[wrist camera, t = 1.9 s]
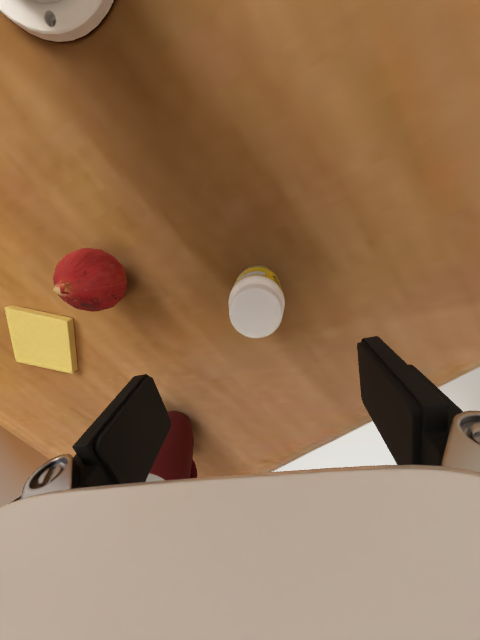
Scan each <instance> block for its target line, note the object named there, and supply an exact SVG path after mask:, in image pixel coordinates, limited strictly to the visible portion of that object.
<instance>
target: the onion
mask: <svg viewBox="0 0 480 640" xmlns="http://www.w3.org/2000/svg"><path fill="white" fill-rule="evenodd" d="M53 281H54V289H53V291H54V292H56V293H57V294H58V295H59V296H60V297H61V298H62V299H63V300H64V301H65V302H67V303H68V304H70V305H71V306H73V307H75V308H77V309H81V310H87V311H100V310H104V309H108V308H111V307H114V306H115V305H116V304H117V303H118V302H119V301H120V300H121V299H122V298H123V297H124V296H125V292H126V288H127V278H126V273H125V271H124V268H123V266H122V265H121V264H120V262H119V261H118V260H117V259H116V258H115V257H113V256H112V255H110V254H108V253H106V252H105V251H103V250H99V249H91V248H83V249H80V250H77V251H73V252H71V253H69V254H67V255H66V256H65V257H64V258H63V259H62V260H61V261H60V262H59V263H58V264H57V266H56V269H55V273H54V276H53Z"/></svg>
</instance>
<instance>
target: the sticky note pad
mask: <svg viewBox="0 0 480 640" xmlns="http://www.w3.org/2000/svg"><path fill="white" fill-rule="evenodd" d="M5 312H6V317H7V322H8V326H9V331H10V336H11V341H12V345H13V350H14V355H15V360H16V362H21V363H25V364H30V365H34V366H39V367H44V368H48V369H53V370H57V371H62V372H67V373H71V374H73V373H74V372H75V371H77V370H78V366H77V355H76V344H75V333H74V322H73V318H70V317H65V316H60V315H56V314H51V313H47V312H42V311H37V310H33V309H28V308H23V307H19V306H14V305H11V306H8V307H5Z"/></svg>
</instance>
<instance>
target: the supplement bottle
mask: <svg viewBox="0 0 480 640" xmlns="http://www.w3.org/2000/svg"><path fill="white" fill-rule="evenodd" d="M228 305H229V316H230V321H231V323H232V325H233V327H234V328H235V329H236V330H237V331H238V332H239V333H241V334H242V335H244V336H247V337H250V338H262V337H266V336H268V335H270V334H272V333H273V332H274V331H275V330H276V329H277V328H278V326H279V325H280V323H281V320H282V315H283V312H284V307H285V300H284V295H283V292H282V288H281V285H280V282H279V279H278V277H277V275H276V274H275V273H274V272H273V271H272V270H271V269H269V268H267V267H265V266H261V265H255V266H251V267H248V268H246V269H245V270H243V271H242V272H241V273H240V275H239V276H238V278H237V280H236V282H235V284H234V286H233V288H232V290H231V292H230V295H229V301H228Z"/></svg>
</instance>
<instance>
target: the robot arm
mask: <svg viewBox="0 0 480 640" xmlns="http://www.w3.org/2000/svg"><path fill="white" fill-rule="evenodd" d="M113 1H114V0H0V11H1V12H2V13H3V14H4V15H5V16H7V17H8V18H9V19H10V20H11V21H13V22H14V23H15V24H16V25H18V26H19V27H21V28H22V29H24V30H25V31H27V32H28V33H30V34H32V35H35V36H37V37H39V38H42V39H44V40H50V41H56V42H63V41H72V40H75V39H77V38H80V37H82V36H85V35H86V34H88V33H89V32H90V31H92V30H93V29H94V28H95V27H97V26H98V25H99V23H100V22H101V21H102V19H103V18H104V17H105V16H106V14H107V13H108V11H109V9H110V7H111V5H112V3H113ZM357 350H358V362H359V374H360V386H361V397H362V401H363V404H364V406H365V407H366V409H367V411H368V413H369V415H370V416H371V418H372V420H373V422H374V424H375V425H376V427H377V429H378V431H379V432H380V434H381V436H382V438H383V440H384V441H385V443H386V445H387V447H388V449H389V450H390V452H391V454H392V456H393V457H394V459H395V461H396V463H397V465H381V466H360V467H344V468H325V469H312V470H298V471H283V472H269V473H254V474H241V475H228V476H215V477H202V478H189V479H176V480H164V481H152V482H145V481H146V479H147V477H148V475H149V473H150V470H151V468H152V466H153V464H154V462H155V460H156V458H157V456H158V453H159V451H160V449H161V447H162V445H163V443H164V441H165V439H166V436H167V434H168V432H169V430H170V428H171V419H170V417H169V415H168V412H167V410H166V408H165V406H164V403H163V401H162V399H161V396H160V394H159V392H158V389H157V387H156V385H155V383H154V380H153V378H152V377H149V376H148V375H147V374H145V375H139V376H134V377H133V378H132V379H131V380H130V382H129V383H128V384H127V385H126V386H125V387H124V388H123V390H122V391H121V392H120V393H119V394H118V395H117V396H116V398H115V399H114V400H113V401H112V402H111V403H110V404H109V406H108V407H107V408H106V409H105V410H104V411H103V412H102V413H101V415H100V416H99V417H98V418H97V419H96V420H95V421H94V423H93V424H92V425H91V426H90V427H89V428H88V429H87V431H86V432H85V433H84V434H83V435H82V436H81V437H80V439H79V440H78V441H77V442H76V443H75V444H74V445H73V449H74V450H75V452H76V453H77V454H76V455H75V457H74V458H73V457H72V456H71V455H70V454H63V455H59V456H57V457H55V458H52V459H51V460H49V461H47V462H46V463H44V464H43V465H42V466H41V467H39V468H38V469H37V470H36V471H35V472H34V473H33V474H32V475H31V476H30V477H29V478H28V480H27V481H26V483H25V485H24V487H23V491H22V495H21V496H20V497H19V498H17V499H16V500H14V501H12V502H11V503H9V504H7V505H5V506H3V507H0V640H480V411H466V412H463V411H462V410H461V409H460V408H459V407H458V406H456V405H455V404H454V403H453V402H452V401H451V400H450V399H449V398H448V397H447V396H446V395H445V394H444V393H442V392H441V391H440V390H439V389H438V388H437V387H436V386H435V385H434V384H433V383H432V382H431V381H430V380H428V379H427V378H426V377H425V376H424V375H423V374H422V373H421V372H420V371H419V370H418V369H417V368H416V367H414V366H413V365H407V364H406V363H405V362H404V361H403V360H402V359H401V358H400V357H399V356H398V355H397V354H396V353H395V352H394V351H393V350H392V349H391V348H390V347H389V346H388V345H387V344H386V343H384V342H383V341H382V340H381V339H380V338H379V337H378V336H375V337H369V338H363V339H362V341H361V343H358V344H357Z"/></svg>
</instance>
